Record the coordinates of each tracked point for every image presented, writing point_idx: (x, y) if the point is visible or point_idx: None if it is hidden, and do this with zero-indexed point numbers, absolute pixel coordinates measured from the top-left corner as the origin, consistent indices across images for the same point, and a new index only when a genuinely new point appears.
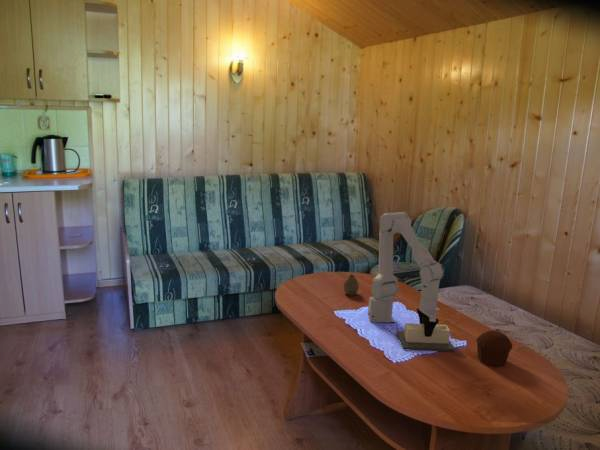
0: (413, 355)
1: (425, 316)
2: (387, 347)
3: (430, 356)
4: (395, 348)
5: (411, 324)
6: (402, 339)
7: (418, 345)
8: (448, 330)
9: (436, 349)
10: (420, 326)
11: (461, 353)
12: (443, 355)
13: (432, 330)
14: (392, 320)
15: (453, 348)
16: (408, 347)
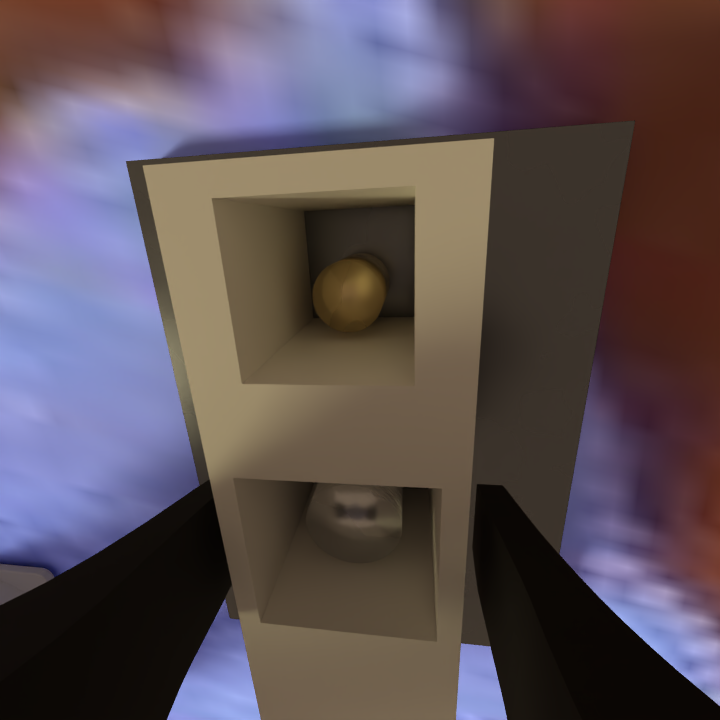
0: (651, 586)
1: (105, 700)
2: (491, 701)
3: (699, 456)
4: None
5: (295, 718)
6: None
7: None
8: (486, 188)
9: (582, 373)
10: (345, 647)
11: (680, 26)
12: (699, 313)
13: (567, 576)
14: (26, 581)
15: (614, 142)
16: None
